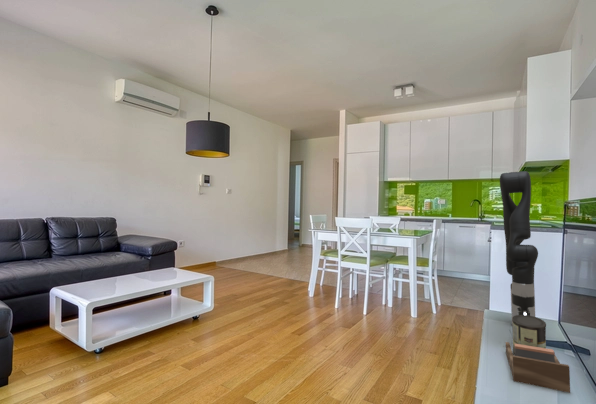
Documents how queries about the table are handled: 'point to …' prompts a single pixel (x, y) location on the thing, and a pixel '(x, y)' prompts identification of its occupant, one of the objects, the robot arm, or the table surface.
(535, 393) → the table surface
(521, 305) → the robot arm
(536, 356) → the pusher paddle
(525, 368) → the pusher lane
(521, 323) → the coffee can
